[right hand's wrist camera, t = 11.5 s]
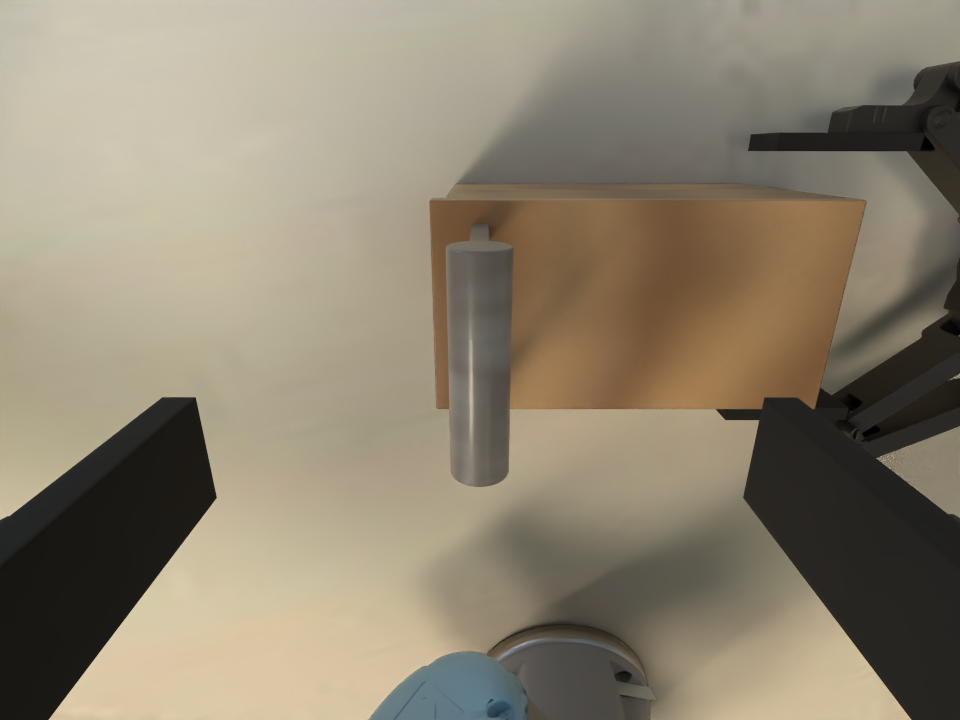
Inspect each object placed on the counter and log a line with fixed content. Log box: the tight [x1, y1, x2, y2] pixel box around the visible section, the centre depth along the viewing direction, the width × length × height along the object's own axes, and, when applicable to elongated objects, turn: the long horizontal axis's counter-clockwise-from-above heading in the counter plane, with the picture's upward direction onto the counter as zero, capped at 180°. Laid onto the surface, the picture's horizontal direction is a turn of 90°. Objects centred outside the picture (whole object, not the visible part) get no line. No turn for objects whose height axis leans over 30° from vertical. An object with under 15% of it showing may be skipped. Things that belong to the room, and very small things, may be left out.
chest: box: [446, 184, 844, 198], centre depth 29 cm, size 17×9×11 cm, turn 90°
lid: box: [430, 198, 866, 487], centre depth 20 cm, size 18×9×8 cm, turn 90°
